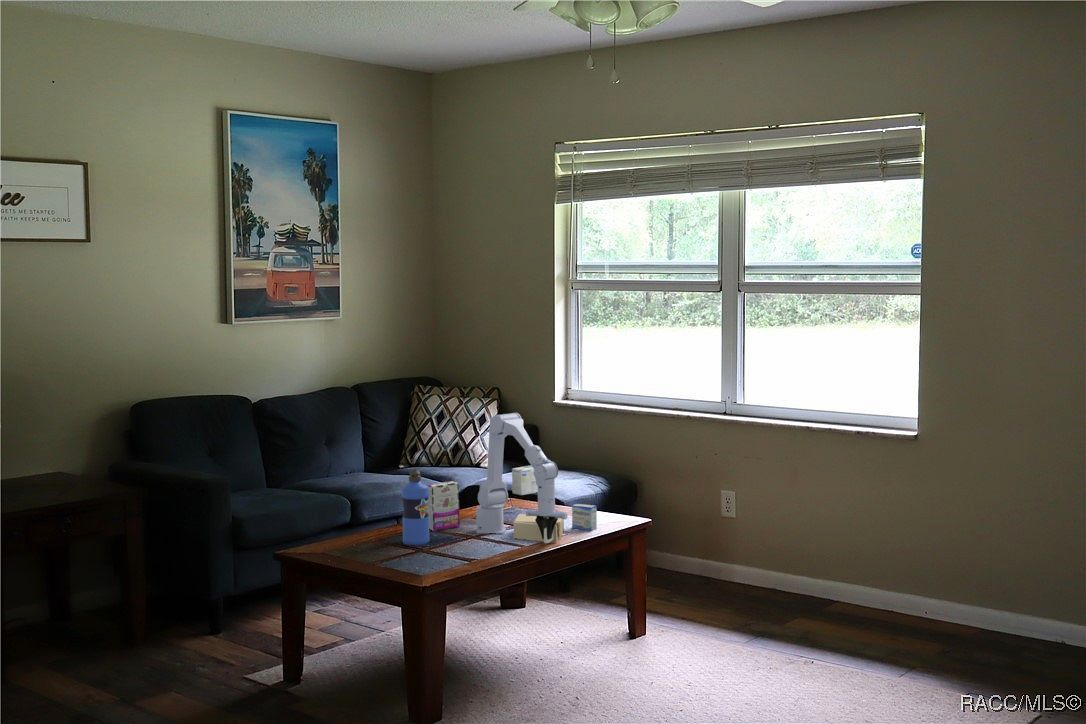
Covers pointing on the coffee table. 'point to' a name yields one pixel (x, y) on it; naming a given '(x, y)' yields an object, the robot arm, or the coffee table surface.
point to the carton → (531, 519)
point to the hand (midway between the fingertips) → (546, 538)
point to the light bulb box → (524, 480)
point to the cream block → (532, 532)
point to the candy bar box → (443, 506)
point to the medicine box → (584, 517)
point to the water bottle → (415, 510)
